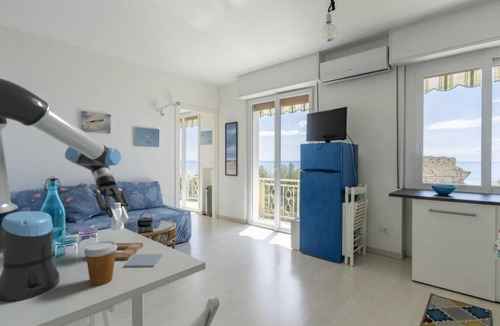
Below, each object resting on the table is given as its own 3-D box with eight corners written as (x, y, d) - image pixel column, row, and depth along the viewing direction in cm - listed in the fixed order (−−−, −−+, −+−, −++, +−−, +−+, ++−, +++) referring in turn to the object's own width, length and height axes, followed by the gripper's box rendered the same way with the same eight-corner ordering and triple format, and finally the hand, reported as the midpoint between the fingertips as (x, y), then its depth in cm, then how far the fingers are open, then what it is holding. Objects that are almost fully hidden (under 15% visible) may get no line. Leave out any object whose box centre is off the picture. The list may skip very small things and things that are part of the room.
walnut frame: (127, 260, 101) (127, 256, 101) (86, 260, 100) (86, 256, 100) (142, 246, 117) (142, 242, 117) (107, 246, 116) (107, 243, 116)
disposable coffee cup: (103, 272, 90) (103, 239, 90) (124, 277, 87) (123, 242, 87) (77, 285, 81) (76, 248, 81) (99, 290, 78) (98, 252, 78)
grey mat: (153, 266, 95) (153, 265, 95) (123, 267, 94) (123, 265, 94) (162, 255, 106) (162, 254, 106) (135, 255, 105) (135, 254, 105)
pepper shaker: (114, 230, 105) (114, 204, 105) (107, 228, 108) (107, 203, 108) (126, 228, 109) (126, 202, 109) (119, 226, 112) (119, 201, 112)
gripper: (120, 184, 125) (137, 222, 115) (81, 186, 111) (96, 230, 101) (125, 173, 121) (143, 212, 111) (86, 175, 108) (102, 219, 98)
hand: (121, 221), depth 106 cm, fingers closed on pepper shaker, 4 cm apart
